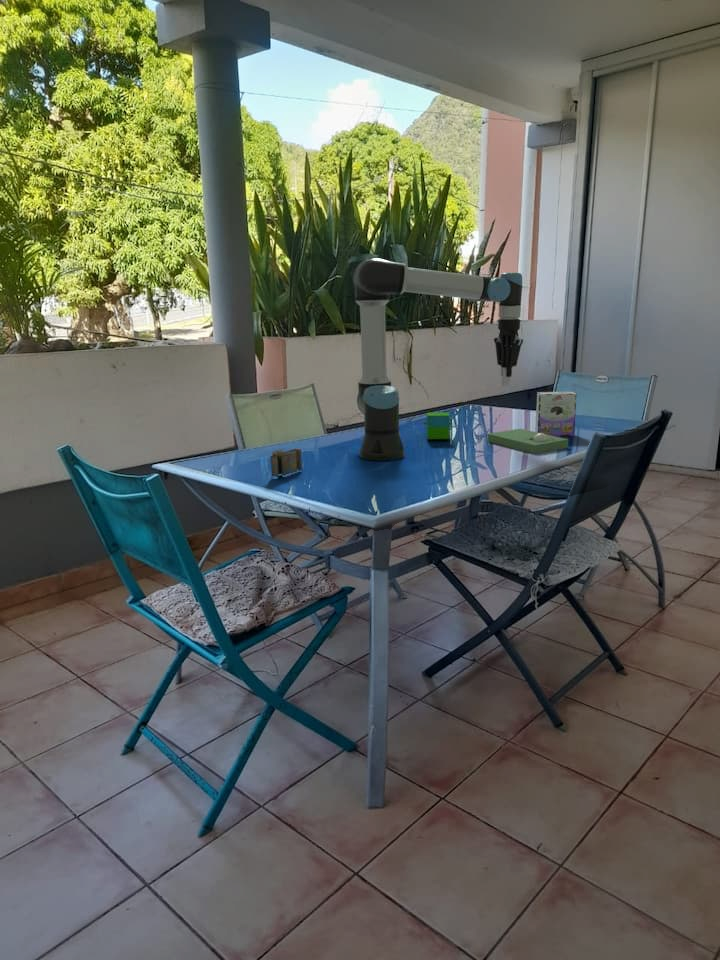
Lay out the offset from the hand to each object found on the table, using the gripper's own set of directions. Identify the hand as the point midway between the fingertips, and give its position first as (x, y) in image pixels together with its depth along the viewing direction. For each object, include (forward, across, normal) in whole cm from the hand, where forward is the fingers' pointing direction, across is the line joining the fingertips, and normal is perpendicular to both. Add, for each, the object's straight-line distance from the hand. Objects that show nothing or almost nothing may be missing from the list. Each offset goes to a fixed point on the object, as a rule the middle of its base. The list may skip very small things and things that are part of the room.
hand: (505, 385), depth 241 cm
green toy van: (+21, +19, +16) cm, 33 cm away
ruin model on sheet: (+23, +1, +86) cm, 89 cm away
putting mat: (+21, -9, -3) cm, 23 cm away
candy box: (+20, -3, -23) cm, 31 cm away
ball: (+18, -16, -3) cm, 24 cm away
